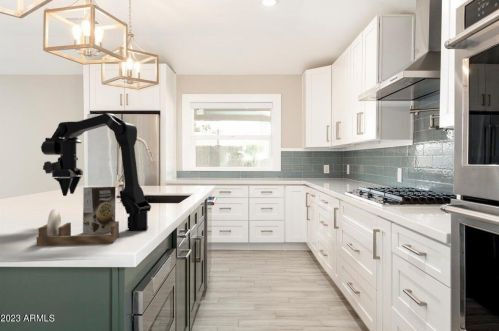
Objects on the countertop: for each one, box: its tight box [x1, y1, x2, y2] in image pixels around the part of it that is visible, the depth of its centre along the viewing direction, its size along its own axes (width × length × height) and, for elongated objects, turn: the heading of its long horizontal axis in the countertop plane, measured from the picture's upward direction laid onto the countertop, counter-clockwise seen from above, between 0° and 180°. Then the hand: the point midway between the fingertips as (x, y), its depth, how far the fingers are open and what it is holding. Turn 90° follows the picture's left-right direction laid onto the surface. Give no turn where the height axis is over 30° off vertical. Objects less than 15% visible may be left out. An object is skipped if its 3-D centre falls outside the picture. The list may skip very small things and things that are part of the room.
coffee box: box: [82, 186, 116, 235], centre depth 129 cm, size 9×6×16 cm
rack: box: [36, 209, 120, 247], centre depth 114 cm, size 22×10×10 cm, turn 101°
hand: (68, 194), depth 141 cm, fingers open, 9 cm apart
